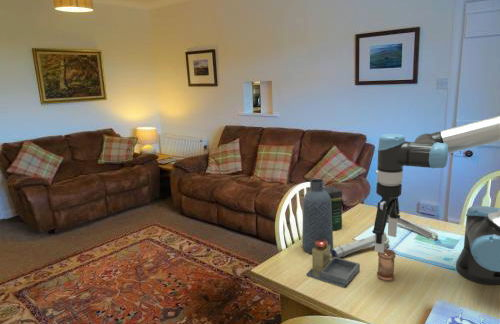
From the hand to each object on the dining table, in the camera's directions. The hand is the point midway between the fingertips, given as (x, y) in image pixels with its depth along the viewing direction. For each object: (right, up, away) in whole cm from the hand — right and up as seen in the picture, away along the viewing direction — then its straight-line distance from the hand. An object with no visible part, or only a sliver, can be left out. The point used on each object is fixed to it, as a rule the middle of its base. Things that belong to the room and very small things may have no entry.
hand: (385, 243), depth 121 cm
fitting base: (-16, -12, +7) cm, 21 cm away
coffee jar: (-8, -2, +45) cm, 45 cm away
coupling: (+1, -12, +3) cm, 12 cm away
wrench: (+23, -2, +39) cm, 45 cm away
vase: (-18, -8, +25) cm, 32 cm away
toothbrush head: (-2, -8, +21) cm, 23 cm away
